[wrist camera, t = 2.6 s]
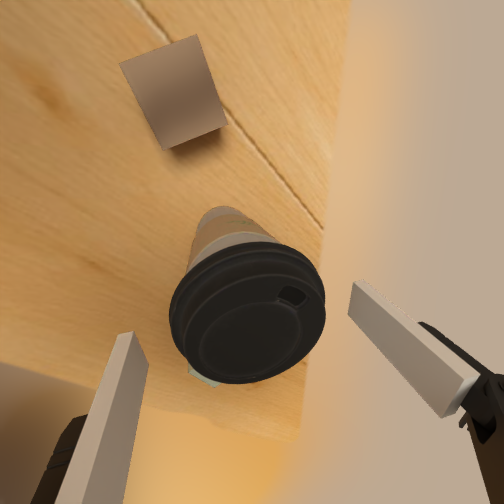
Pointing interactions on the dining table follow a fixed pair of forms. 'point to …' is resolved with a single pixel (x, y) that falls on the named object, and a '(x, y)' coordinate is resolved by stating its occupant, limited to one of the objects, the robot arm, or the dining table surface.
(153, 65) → the walnut cube
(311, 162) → the dining table surface
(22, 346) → the dining table surface
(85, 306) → the dining table surface
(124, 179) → the dining table surface
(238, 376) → the coffee cup
